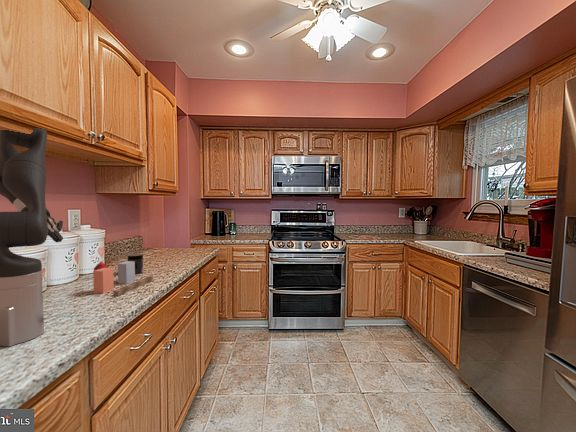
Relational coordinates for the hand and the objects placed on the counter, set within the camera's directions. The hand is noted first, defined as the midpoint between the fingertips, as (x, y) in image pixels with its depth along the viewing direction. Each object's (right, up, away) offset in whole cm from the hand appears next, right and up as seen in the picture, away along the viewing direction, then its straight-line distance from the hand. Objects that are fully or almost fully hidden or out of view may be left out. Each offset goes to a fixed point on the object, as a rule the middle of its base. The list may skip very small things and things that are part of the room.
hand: (60, 240), depth 103 cm
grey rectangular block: (+20, -19, +11) cm, 29 cm away
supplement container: (+15, -20, +25) cm, 35 cm away
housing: (+22, -21, +4) cm, 30 cm away
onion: (+1, -20, +21) cm, 29 cm away
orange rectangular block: (+18, -19, -1) cm, 27 cm away
